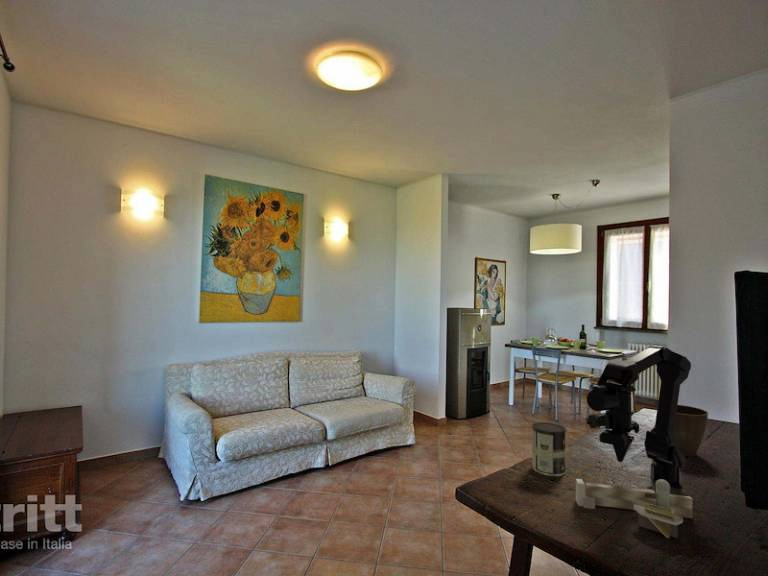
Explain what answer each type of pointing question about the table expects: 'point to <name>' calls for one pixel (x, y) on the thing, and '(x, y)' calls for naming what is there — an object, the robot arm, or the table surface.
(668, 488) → the hinge post
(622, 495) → the cream wooden bar
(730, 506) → the table surface
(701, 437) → the plant pot
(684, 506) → the block
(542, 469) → the coffee can
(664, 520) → the platform
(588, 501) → the cream l-shaped block
